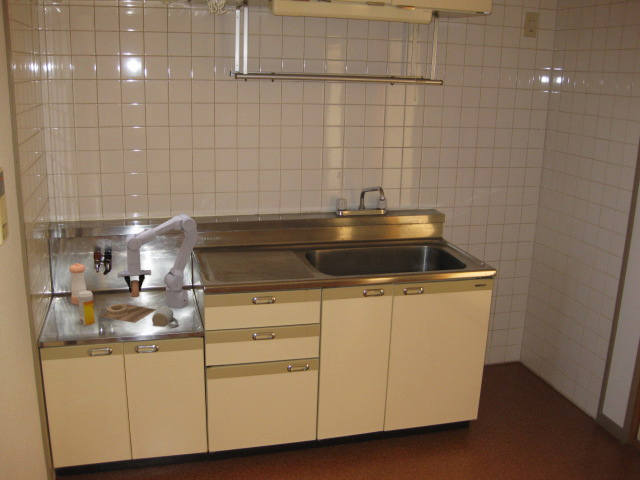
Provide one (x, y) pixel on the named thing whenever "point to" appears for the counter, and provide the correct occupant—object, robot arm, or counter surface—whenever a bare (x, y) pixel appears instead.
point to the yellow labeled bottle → (86, 307)
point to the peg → (135, 288)
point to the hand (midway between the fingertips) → (135, 291)
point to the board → (133, 313)
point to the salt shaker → (77, 281)
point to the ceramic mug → (164, 317)
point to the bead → (117, 310)
